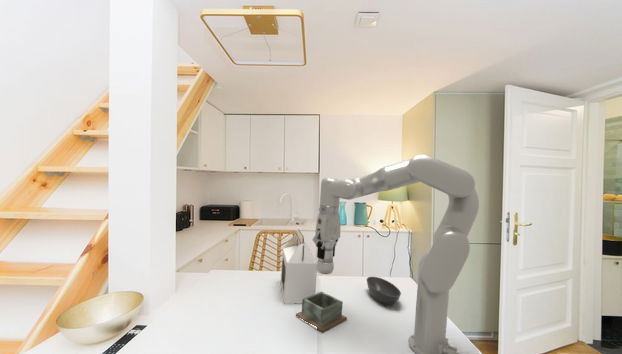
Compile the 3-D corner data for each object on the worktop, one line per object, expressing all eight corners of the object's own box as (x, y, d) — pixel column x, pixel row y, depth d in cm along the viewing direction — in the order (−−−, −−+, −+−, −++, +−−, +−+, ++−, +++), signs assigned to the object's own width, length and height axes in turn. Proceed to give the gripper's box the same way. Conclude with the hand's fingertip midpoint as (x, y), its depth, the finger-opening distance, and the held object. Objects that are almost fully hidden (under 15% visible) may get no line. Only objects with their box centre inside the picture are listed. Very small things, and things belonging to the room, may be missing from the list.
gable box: (280, 282, 134) (284, 227, 134) (306, 282, 136) (310, 228, 136) (284, 304, 112) (288, 238, 112) (314, 303, 114) (319, 239, 114)
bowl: (381, 312, 111) (382, 297, 111) (359, 289, 133) (360, 276, 133) (407, 310, 114) (408, 296, 114) (381, 288, 136) (382, 276, 136)
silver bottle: (332, 277, 99) (335, 223, 99) (314, 274, 100) (318, 222, 100) (334, 271, 105) (337, 221, 105) (317, 269, 107) (320, 219, 107)
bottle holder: (346, 320, 103) (348, 302, 103) (322, 333, 93) (323, 313, 93) (320, 305, 113) (321, 289, 113) (295, 316, 103) (297, 298, 103)
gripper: (321, 212, 94) (317, 264, 94) (350, 210, 106) (347, 256, 106) (306, 209, 99) (303, 258, 99) (335, 208, 111) (332, 251, 111)
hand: (325, 256), depth 103 cm, fingers closed on silver bottle, 5 cm apart
